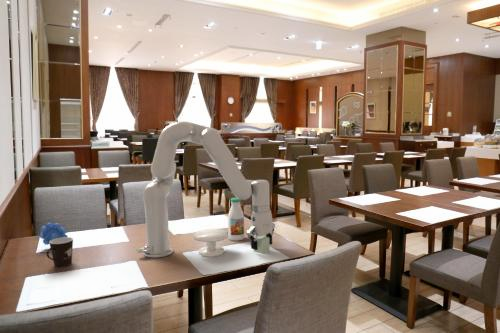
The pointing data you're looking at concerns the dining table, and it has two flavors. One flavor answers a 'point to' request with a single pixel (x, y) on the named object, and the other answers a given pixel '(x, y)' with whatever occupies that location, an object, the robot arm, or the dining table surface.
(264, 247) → the block
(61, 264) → the coffee mug
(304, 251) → the dining table surface
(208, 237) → the cake stand
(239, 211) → the milk bottle
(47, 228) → the grapes
